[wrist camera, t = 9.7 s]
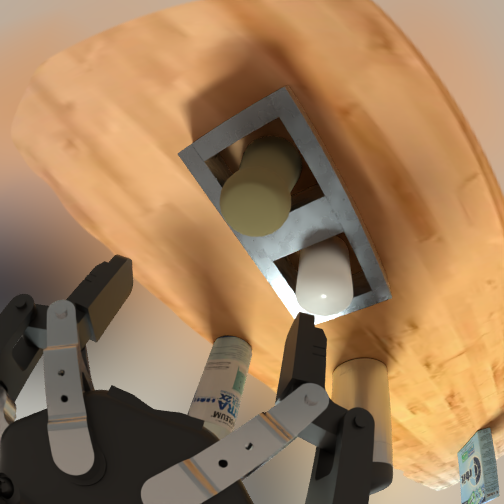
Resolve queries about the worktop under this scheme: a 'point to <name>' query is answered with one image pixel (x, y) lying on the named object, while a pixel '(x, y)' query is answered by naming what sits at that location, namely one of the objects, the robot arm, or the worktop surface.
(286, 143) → the cork
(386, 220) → the worktop surface
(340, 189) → the cinder block
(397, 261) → the worktop surface
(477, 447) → the gum box
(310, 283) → the salt cellar
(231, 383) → the spray paint can
